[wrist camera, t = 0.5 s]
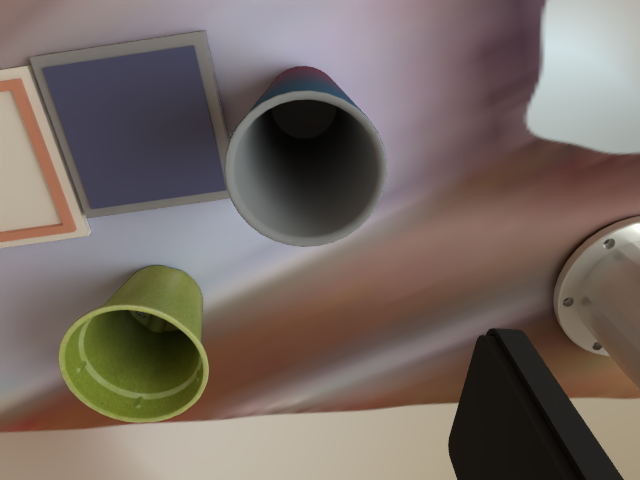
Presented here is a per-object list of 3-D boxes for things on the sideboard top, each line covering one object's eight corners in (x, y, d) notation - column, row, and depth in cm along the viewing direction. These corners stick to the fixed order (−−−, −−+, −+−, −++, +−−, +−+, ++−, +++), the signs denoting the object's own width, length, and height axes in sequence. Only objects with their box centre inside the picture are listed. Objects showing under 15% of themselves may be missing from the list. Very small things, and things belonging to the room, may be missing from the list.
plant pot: (180, 223, 39) (149, 281, 31) (247, 316, 42) (235, 389, 35) (79, 277, 40) (26, 345, 33) (152, 362, 44) (120, 442, 36)
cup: (359, 146, 37) (393, 235, 23) (263, 160, 37) (242, 257, 23) (347, 44, 34) (379, 78, 20) (244, 60, 34) (206, 104, 20)
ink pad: (205, 30, 33) (201, 31, 32) (240, 192, 38) (238, 198, 37) (36, 55, 33) (26, 58, 32) (91, 213, 38) (85, 219, 37)
